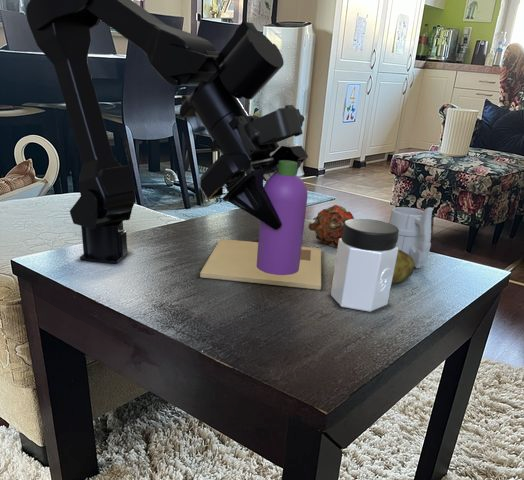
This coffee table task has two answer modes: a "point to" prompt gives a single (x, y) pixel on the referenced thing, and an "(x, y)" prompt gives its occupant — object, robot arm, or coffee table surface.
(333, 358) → the coffee table surface
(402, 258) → the potato
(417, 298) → the coffee table surface
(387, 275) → the jar
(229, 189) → the robot arm
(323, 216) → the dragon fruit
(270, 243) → the purple bottle
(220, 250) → the cork mat
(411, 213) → the mug
